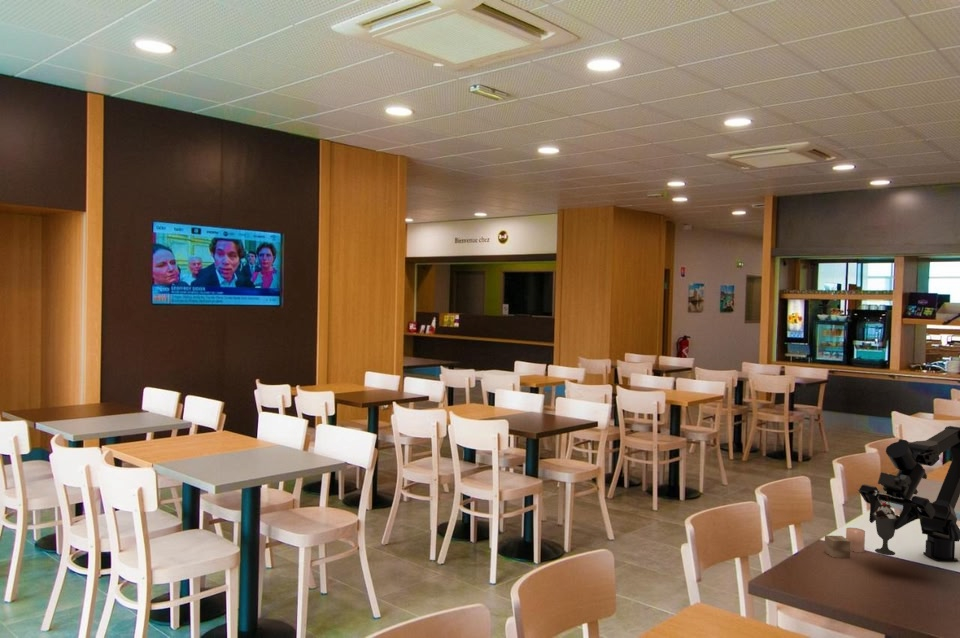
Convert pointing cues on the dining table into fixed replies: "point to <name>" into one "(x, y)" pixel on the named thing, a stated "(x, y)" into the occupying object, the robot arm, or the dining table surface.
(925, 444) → the robot arm
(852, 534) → the pink block
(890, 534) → the sundae
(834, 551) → the walnut block
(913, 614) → the dining table surface
